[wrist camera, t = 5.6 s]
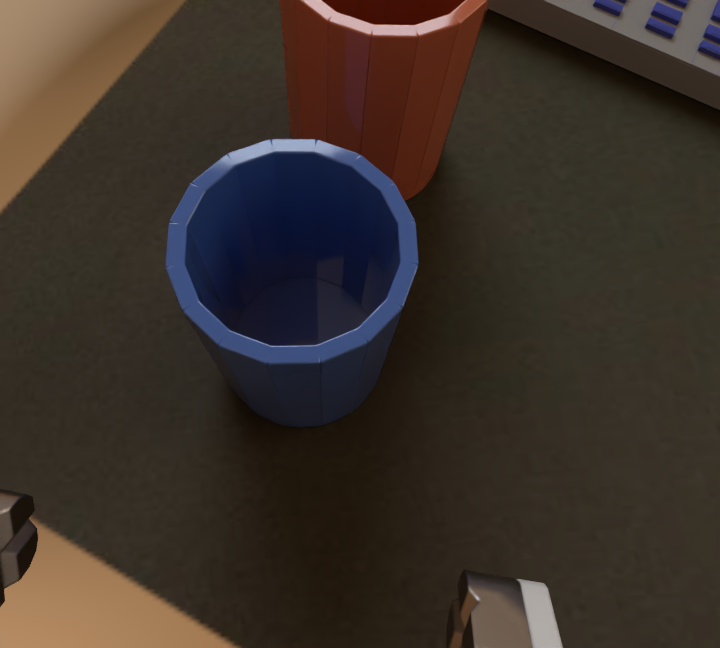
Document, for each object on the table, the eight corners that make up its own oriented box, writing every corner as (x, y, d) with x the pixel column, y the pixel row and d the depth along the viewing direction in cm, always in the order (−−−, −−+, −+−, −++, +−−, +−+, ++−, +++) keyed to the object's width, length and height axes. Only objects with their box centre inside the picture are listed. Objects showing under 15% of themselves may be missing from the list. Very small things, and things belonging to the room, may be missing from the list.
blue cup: (388, 425, 24) (426, 361, 15) (220, 430, 23) (156, 366, 14) (379, 274, 26) (409, 138, 17) (226, 275, 26) (174, 137, 17)
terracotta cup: (446, 209, 27) (511, 38, 18) (292, 209, 27) (275, 34, 17) (434, 84, 30) (486, -125, 20) (292, 83, 29) (277, -132, 20)
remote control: (486, -103, 34) (496, -144, 32) (869, 54, 32) (907, 20, 30) (427, -15, 32) (435, -53, 30) (839, 164, 29) (878, 135, 27)
